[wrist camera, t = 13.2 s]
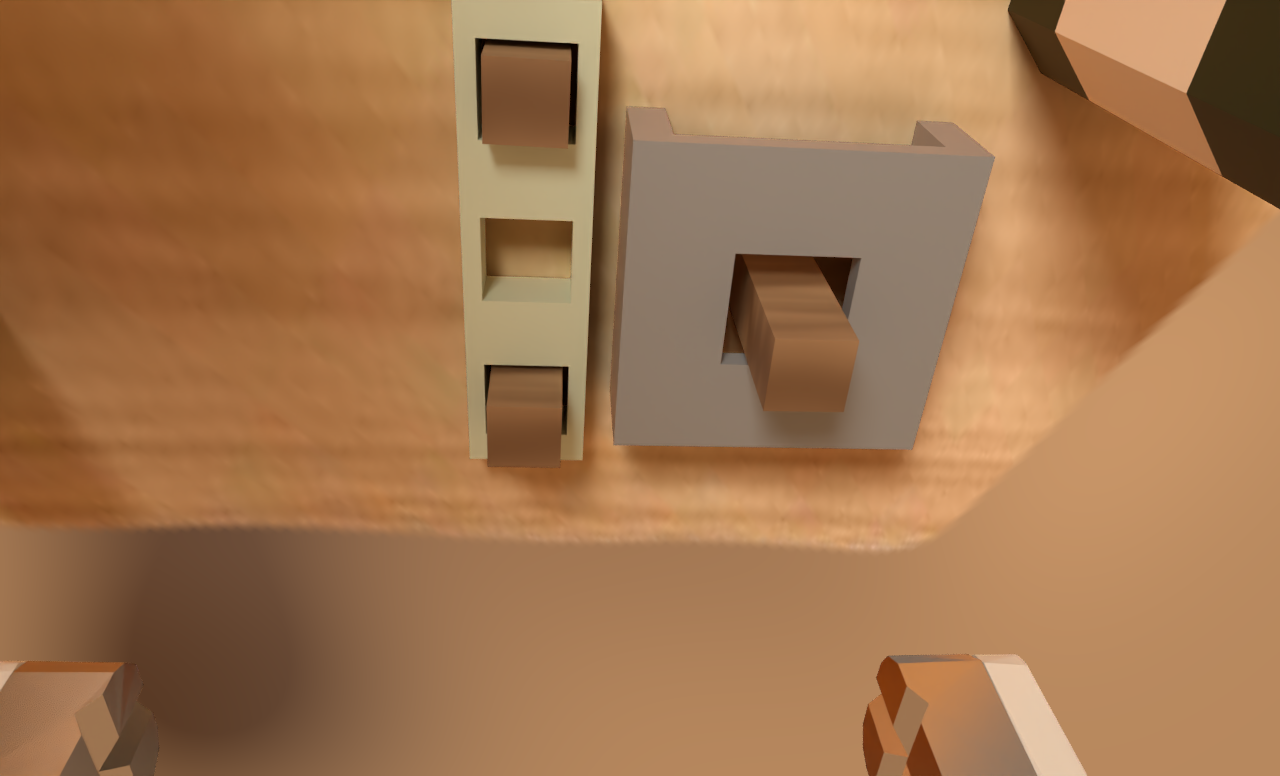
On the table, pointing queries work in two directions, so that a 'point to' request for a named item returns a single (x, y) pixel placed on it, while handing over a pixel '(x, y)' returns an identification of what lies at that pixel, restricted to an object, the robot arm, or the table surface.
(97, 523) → the table surface
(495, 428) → the pin medium
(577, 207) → the peg rack
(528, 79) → the pin short
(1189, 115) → the wine bottle
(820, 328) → the pin long
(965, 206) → the hole bridge
